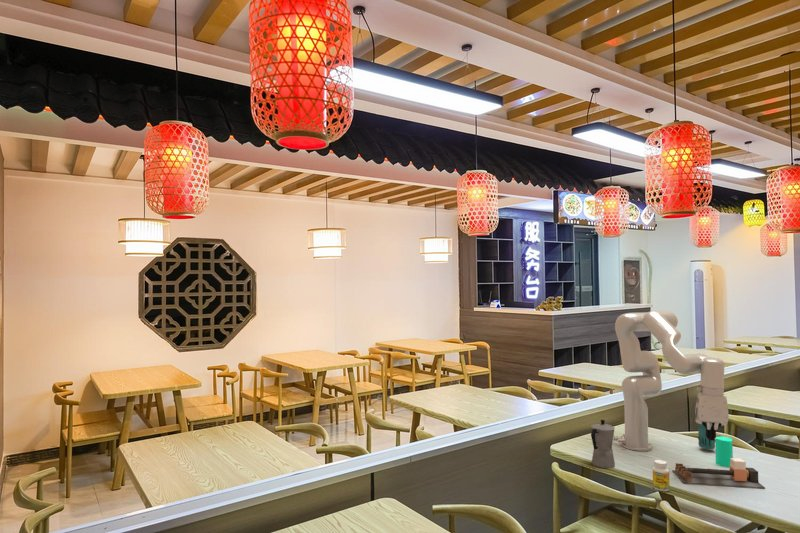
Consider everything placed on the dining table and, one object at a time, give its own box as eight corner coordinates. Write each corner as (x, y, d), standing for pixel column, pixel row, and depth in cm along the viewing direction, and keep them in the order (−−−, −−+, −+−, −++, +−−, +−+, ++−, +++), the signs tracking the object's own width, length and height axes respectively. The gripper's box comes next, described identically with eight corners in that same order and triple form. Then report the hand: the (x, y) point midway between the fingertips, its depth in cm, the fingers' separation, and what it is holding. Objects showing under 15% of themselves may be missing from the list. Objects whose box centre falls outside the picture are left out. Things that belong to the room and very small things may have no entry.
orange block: (734, 480, 188) (734, 461, 189) (729, 476, 193) (729, 457, 193) (746, 481, 188) (746, 462, 188) (741, 477, 192) (741, 458, 192)
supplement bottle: (668, 486, 185) (668, 460, 185) (670, 492, 180) (670, 465, 180) (652, 484, 187) (651, 458, 187) (653, 490, 182) (653, 463, 182)
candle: (730, 462, 209) (730, 433, 210) (734, 467, 204) (734, 437, 204) (713, 461, 211) (713, 431, 212) (717, 466, 206) (717, 436, 206)
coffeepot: (600, 457, 216) (599, 414, 216) (622, 463, 209) (621, 419, 209) (581, 466, 206) (580, 421, 206) (603, 472, 199) (603, 426, 199)
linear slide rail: (683, 483, 188) (683, 471, 188) (672, 471, 200) (672, 459, 200) (764, 489, 183) (764, 476, 183) (748, 476, 195) (748, 464, 195)
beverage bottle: (710, 448, 227) (710, 403, 228) (718, 453, 221) (717, 406, 221) (695, 447, 228) (694, 402, 228) (702, 452, 221) (702, 406, 222)
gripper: (694, 392, 190) (693, 441, 191) (738, 395, 188) (737, 444, 188) (686, 387, 198) (685, 434, 198) (729, 389, 195) (727, 437, 195)
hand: (710, 439), depth 193 cm, fingers closed
